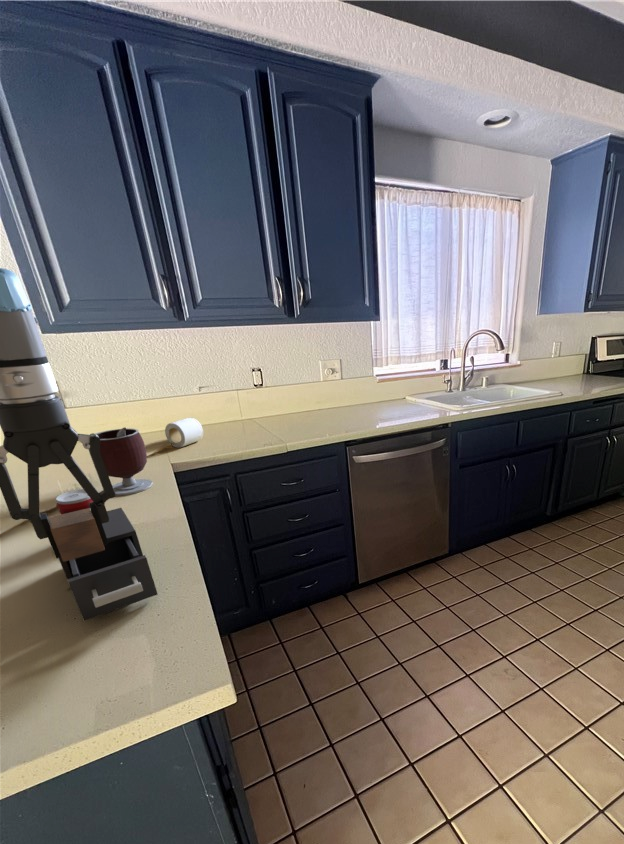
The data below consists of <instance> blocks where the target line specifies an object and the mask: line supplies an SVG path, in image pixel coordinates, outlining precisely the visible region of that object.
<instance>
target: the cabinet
mask: <svg viewBox="0 0 624 844" xmlns="http://www.w3.org/2000/svg"><path fill="white" fill-rule="evenodd" d="M106 511H107V514H108V517H109V522H106V523H103V524H102V526H103V528H104V531H105V534H106V537H107V540H108V542H111V541H115V540H118V539H122V538H125V537H129V539H130V541H131V542H132V544H133V546H134V548H135V549H136V551H137V553H138V555H139V557H140V556H144V553H143V549H142V547H141V543H140V541H139V538H138V535H137V531H136V529H135V527H134V526H133V524H132V523H131V521H130V520H129V517H128V516H127V514H126V513H125V511H124V510H123V508H122V507H117V508H115V509H110V510H106ZM58 561H59V563H60V565H61V568H62V570H63V572H64V575H65V577H66V580H67V581H68V579H70V578H74V577H73V574H72V570H71V566H70V562H69V561H65V562H63V560H62V557H60V558H58Z"/></svg>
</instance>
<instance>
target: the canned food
mask: <svg viewBox="0 0 624 844" xmlns="http://www.w3.org/2000/svg"><path fill="white" fill-rule="evenodd" d="M91 502H93V501H92V499H91V498H90V497H89V496H88V494H87V493H86V492H85V490H84V489H83V488H80V489H74V490H70V491H67V492H63V493H61V494H59V495H57V496H56V497H55V504H56V505H57V508H58V510H59V515H61V514H66V513H70V512H74V511H78V510H83V509H87V508H90V506H89V503H91Z"/></svg>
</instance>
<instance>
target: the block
mask: <svg viewBox="0 0 624 844" xmlns="http://www.w3.org/2000/svg"><path fill="white" fill-rule="evenodd" d="M48 518H49V522H50V530H51V533H52V535H53V537H54V540H55V542H56V545H57V547H58V550H59V552H60V555H61V557H62V560H63V562H65V561H69V560H72V559H76V558H79V557H83V556H86V555H90V554H93V553H97V552H100V551H104V550H105V548H104V545H103V542H102V539H101V536H100V533H99V531H98V528H97V525H96V522H95V519H94V516H93V514H92V512H91V509H90V508H87V509H83V510H78V511H74V512H70V513H66V514H57V515H53V516H48Z"/></svg>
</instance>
